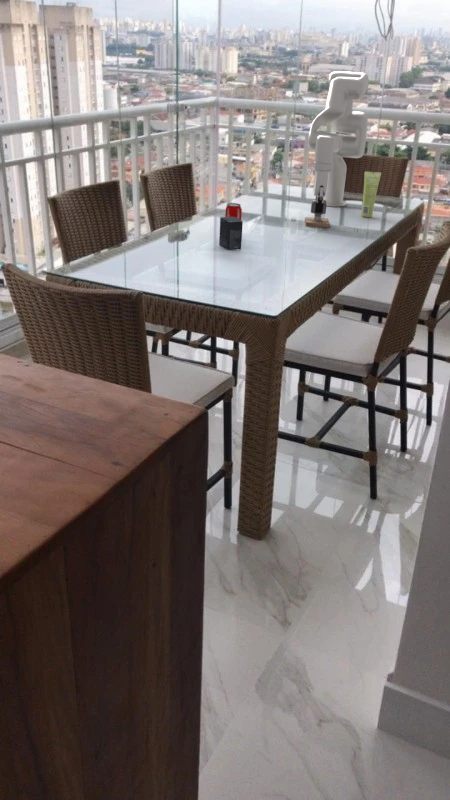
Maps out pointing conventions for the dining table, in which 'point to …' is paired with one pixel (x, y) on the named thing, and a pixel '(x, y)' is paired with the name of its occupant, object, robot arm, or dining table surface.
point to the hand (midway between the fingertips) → (318, 210)
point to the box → (230, 233)
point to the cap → (315, 205)
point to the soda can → (233, 210)
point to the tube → (369, 192)
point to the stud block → (317, 221)
